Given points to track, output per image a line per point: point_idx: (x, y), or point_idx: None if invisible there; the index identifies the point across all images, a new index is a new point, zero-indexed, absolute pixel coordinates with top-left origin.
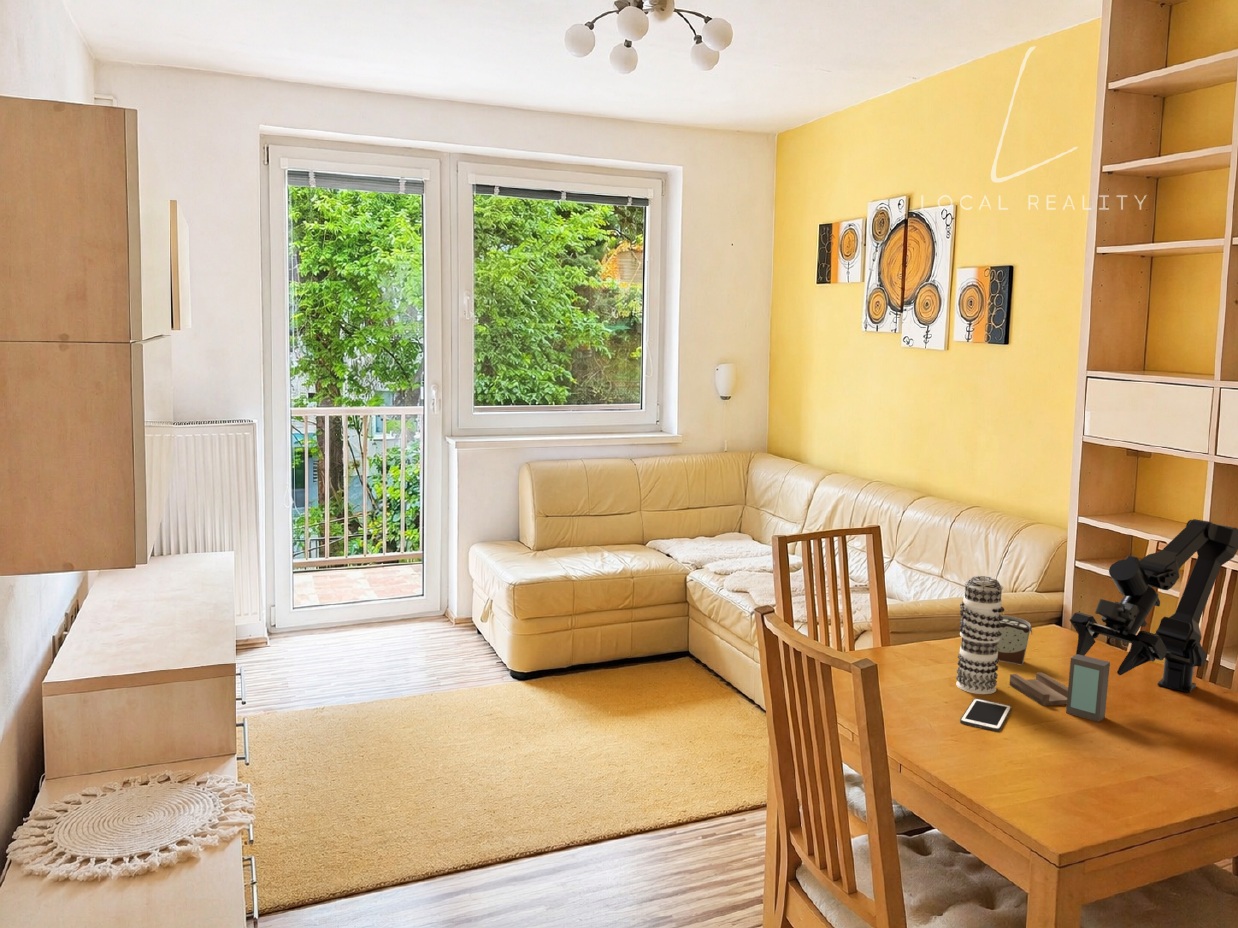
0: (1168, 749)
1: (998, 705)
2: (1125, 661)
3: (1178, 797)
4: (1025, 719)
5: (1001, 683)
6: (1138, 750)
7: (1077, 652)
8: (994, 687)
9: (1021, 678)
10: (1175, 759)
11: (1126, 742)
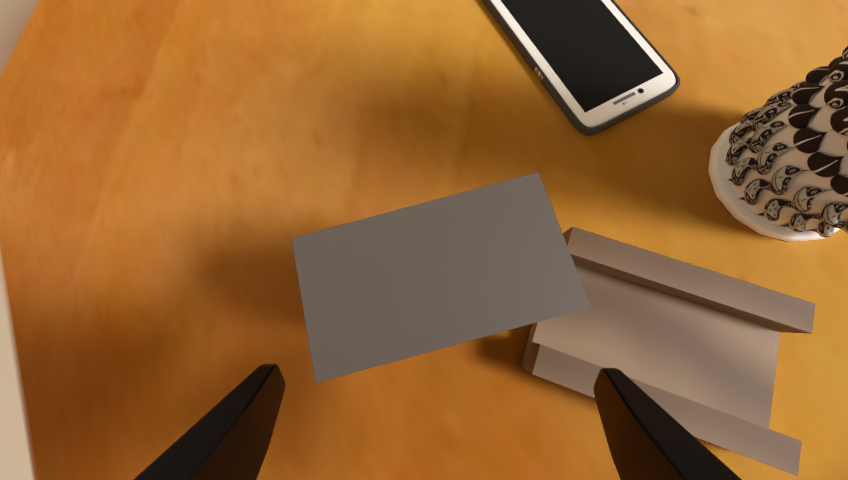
0: (160, 282)
1: (605, 100)
2: (180, 459)
3: (65, 60)
4: (502, 105)
5: (787, 290)
6: (212, 199)
7: (651, 407)
8: (745, 211)
9: (752, 303)
10: (126, 235)
11: (256, 218)
